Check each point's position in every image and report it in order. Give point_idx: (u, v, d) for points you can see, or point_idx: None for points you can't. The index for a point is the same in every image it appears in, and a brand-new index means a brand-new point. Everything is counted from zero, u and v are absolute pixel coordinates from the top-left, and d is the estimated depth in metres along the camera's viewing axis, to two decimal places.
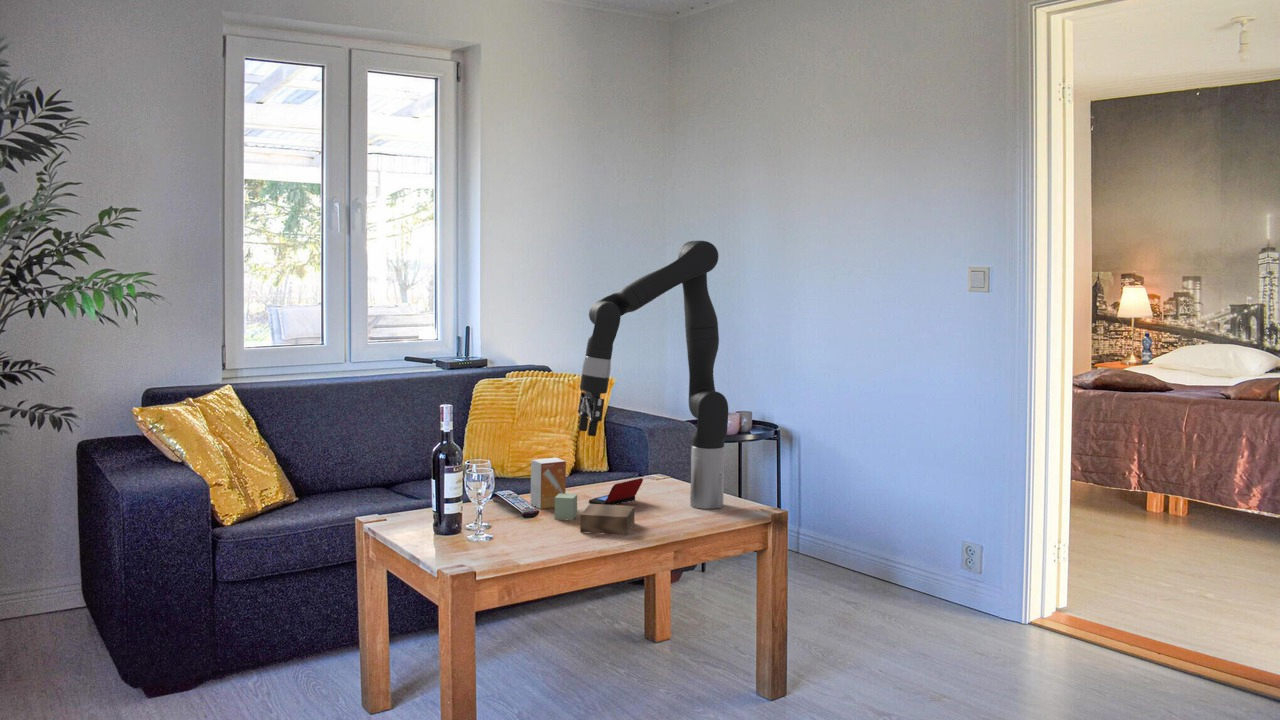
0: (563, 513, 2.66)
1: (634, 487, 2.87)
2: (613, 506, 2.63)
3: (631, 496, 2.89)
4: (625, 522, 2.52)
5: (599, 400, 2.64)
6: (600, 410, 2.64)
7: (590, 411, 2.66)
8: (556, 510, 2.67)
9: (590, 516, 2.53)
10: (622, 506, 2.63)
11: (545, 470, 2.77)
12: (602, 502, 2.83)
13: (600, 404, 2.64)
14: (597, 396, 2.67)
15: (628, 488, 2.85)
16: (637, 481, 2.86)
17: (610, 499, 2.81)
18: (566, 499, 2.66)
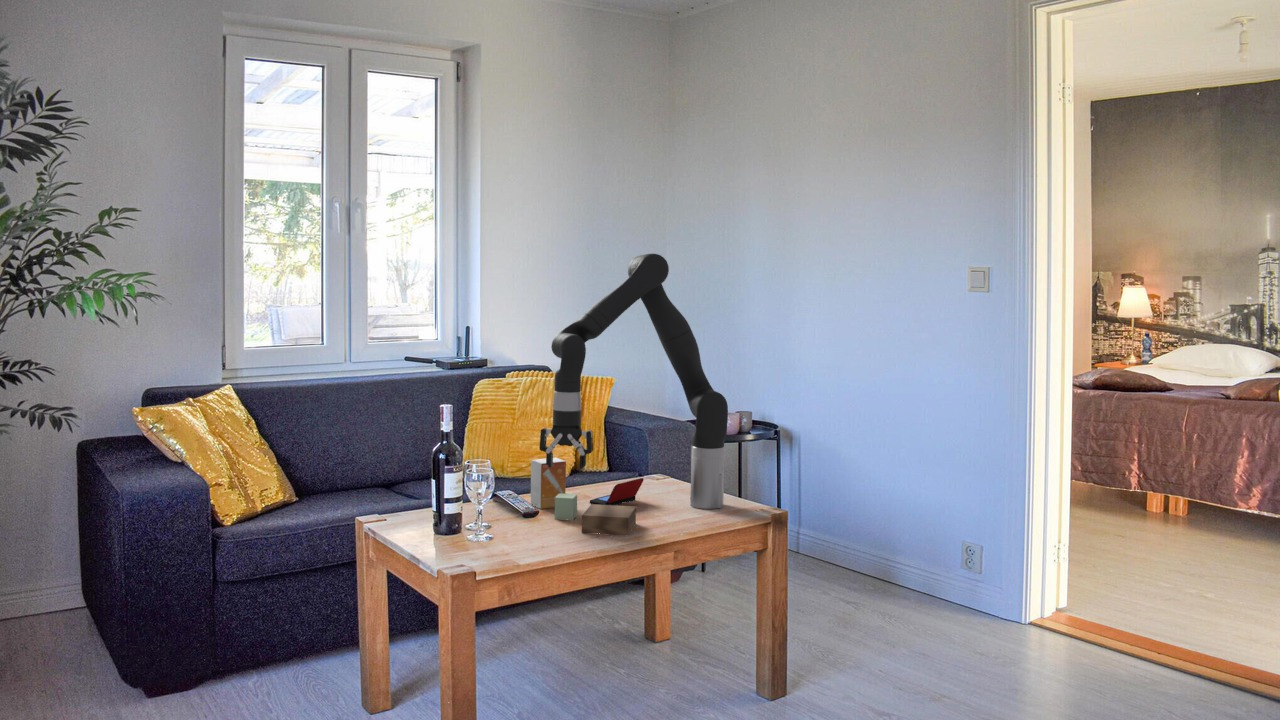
0: (563, 513, 2.66)
1: (635, 487, 2.86)
2: (614, 506, 2.62)
3: (632, 496, 2.89)
4: (626, 523, 2.51)
5: (591, 432, 2.66)
6: (592, 441, 2.67)
7: (579, 445, 2.65)
8: (556, 510, 2.67)
9: (591, 516, 2.53)
10: (623, 506, 2.62)
11: (545, 470, 2.77)
12: (603, 502, 2.83)
13: (592, 436, 2.66)
14: (580, 429, 2.66)
15: (629, 488, 2.85)
16: (638, 481, 2.86)
17: (611, 499, 2.81)
18: (566, 499, 2.66)
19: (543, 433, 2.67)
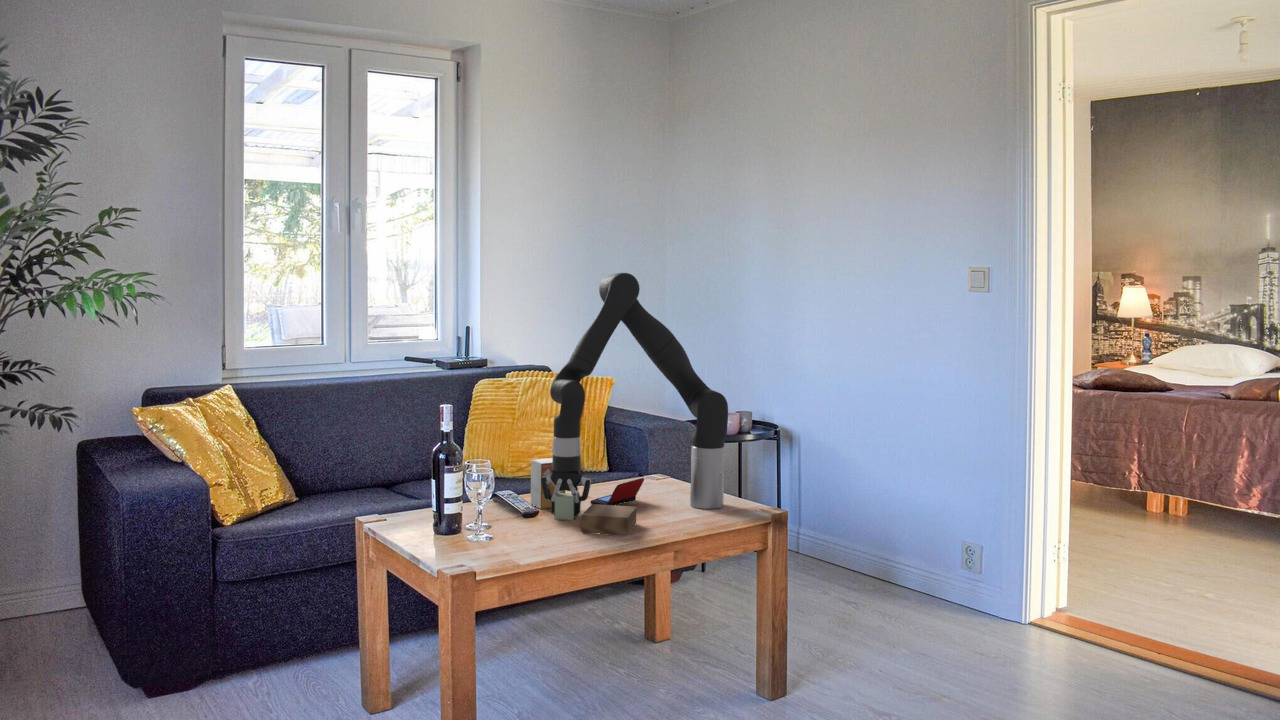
0: (563, 512, 2.66)
1: (635, 487, 2.86)
2: (615, 506, 2.62)
3: (632, 496, 2.89)
4: (626, 523, 2.51)
5: (590, 481, 2.67)
6: (588, 490, 2.68)
7: (576, 492, 2.67)
8: (556, 510, 2.67)
9: (591, 516, 2.53)
10: (624, 507, 2.62)
11: (545, 470, 2.77)
12: (604, 503, 2.83)
13: (590, 484, 2.67)
14: (580, 473, 2.67)
15: (630, 488, 2.84)
16: (639, 481, 2.86)
17: (613, 499, 2.81)
18: (566, 498, 2.66)
19: (544, 481, 2.68)
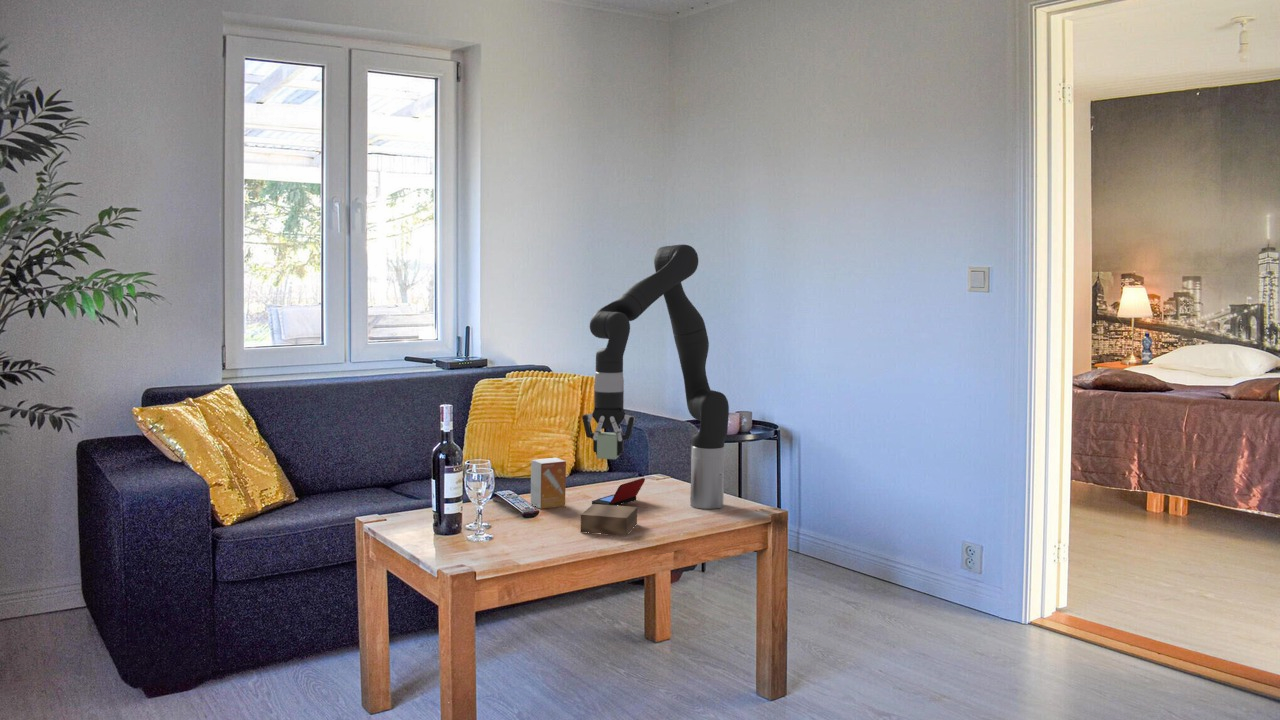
0: (605, 451, 2.55)
1: (637, 487, 2.87)
2: (615, 507, 2.62)
3: (633, 496, 2.89)
4: (625, 523, 2.51)
5: (634, 418, 2.55)
6: (632, 428, 2.56)
7: (619, 430, 2.55)
8: (598, 448, 2.55)
9: (590, 516, 2.53)
10: (624, 507, 2.62)
11: (545, 470, 2.77)
12: (606, 503, 2.82)
13: (633, 422, 2.56)
14: (623, 411, 2.56)
15: (632, 488, 2.84)
16: (640, 481, 2.86)
17: (615, 500, 2.81)
18: (609, 436, 2.54)
19: (585, 419, 2.56)
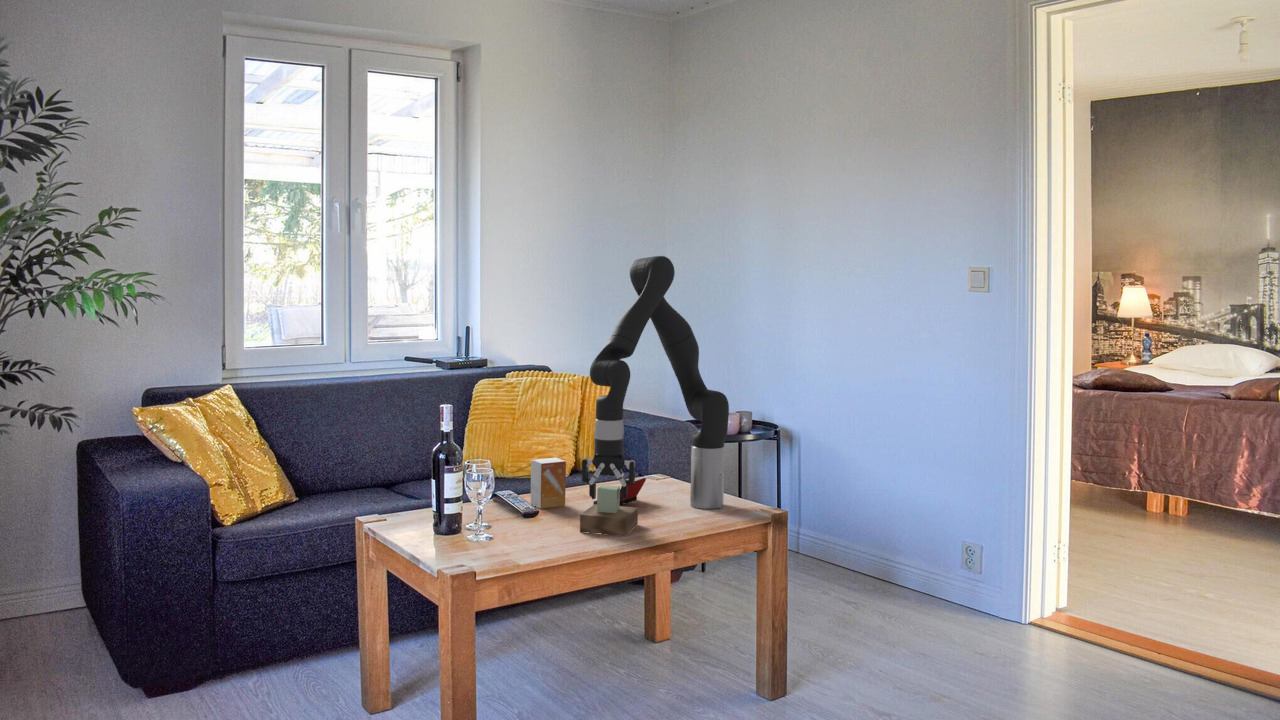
0: (606, 505, 2.56)
1: (638, 487, 2.87)
2: None
3: (634, 496, 2.89)
4: (624, 523, 2.51)
5: (634, 462, 2.56)
6: (634, 472, 2.57)
7: (621, 476, 2.56)
8: (599, 502, 2.56)
9: (589, 516, 2.53)
10: (625, 507, 2.62)
11: (545, 470, 2.77)
12: None
13: (634, 466, 2.57)
14: (623, 458, 2.57)
15: (634, 488, 2.84)
16: (641, 481, 2.86)
17: None
18: (609, 490, 2.56)
19: (584, 464, 2.57)
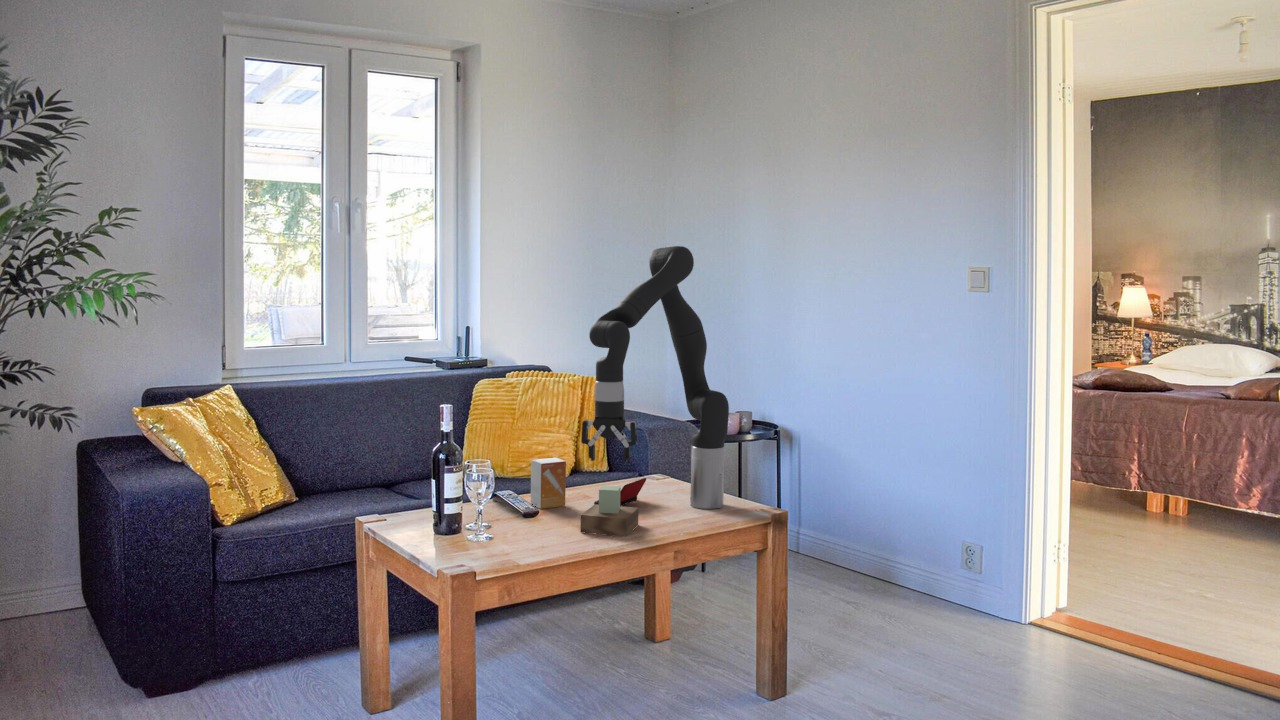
0: (607, 506, 2.56)
1: (638, 487, 2.87)
2: None
3: (634, 496, 2.89)
4: (624, 524, 2.51)
5: (635, 423, 2.55)
6: (636, 433, 2.56)
7: (623, 437, 2.55)
8: (600, 503, 2.56)
9: (590, 516, 2.53)
10: (626, 507, 2.62)
11: (544, 470, 2.77)
12: None
13: (635, 427, 2.56)
14: (623, 420, 2.56)
15: (634, 488, 2.84)
16: (642, 481, 2.86)
17: None
18: (611, 491, 2.55)
19: (585, 425, 2.56)
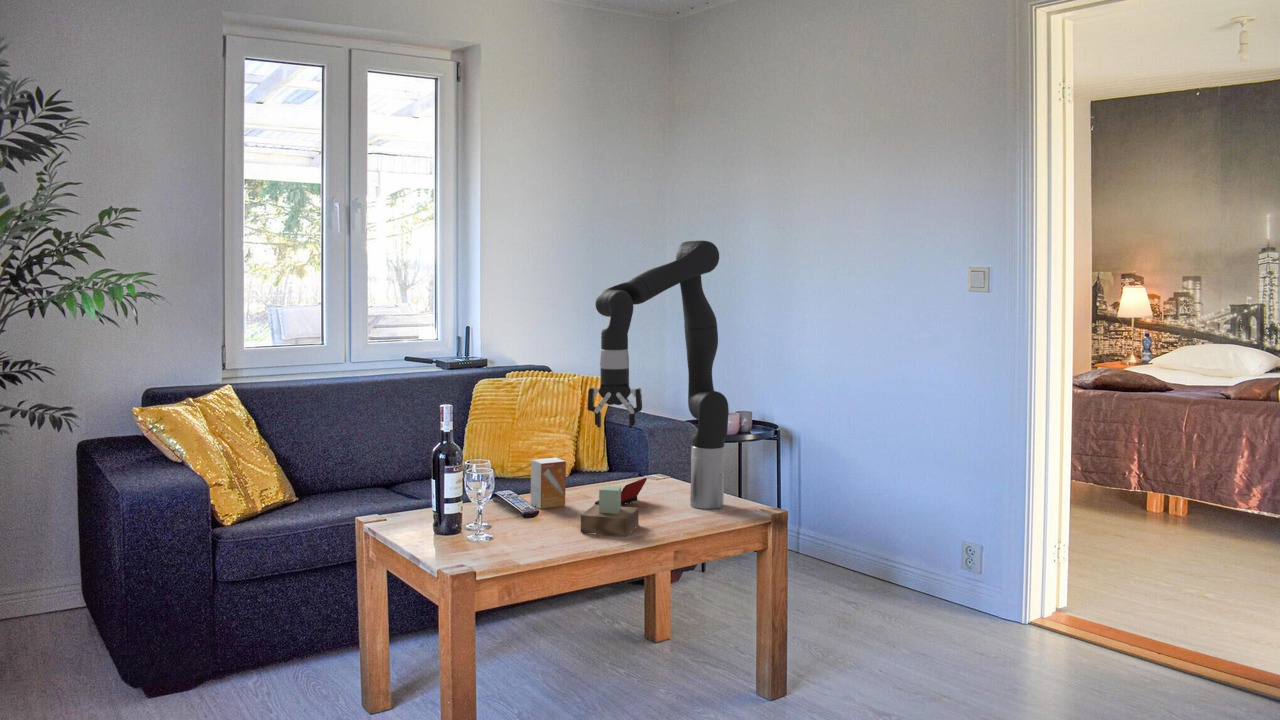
0: (607, 506, 2.56)
1: (639, 487, 2.87)
2: None
3: (634, 496, 2.89)
4: (624, 524, 2.50)
5: (640, 390, 2.62)
6: (641, 399, 2.62)
7: (628, 403, 2.61)
8: (600, 503, 2.56)
9: (590, 516, 2.53)
10: (626, 508, 2.62)
11: (545, 470, 2.77)
12: None
13: (640, 394, 2.62)
14: (629, 387, 2.62)
15: (635, 488, 2.84)
16: (642, 481, 2.86)
17: None
18: (611, 491, 2.55)
19: (591, 393, 2.62)
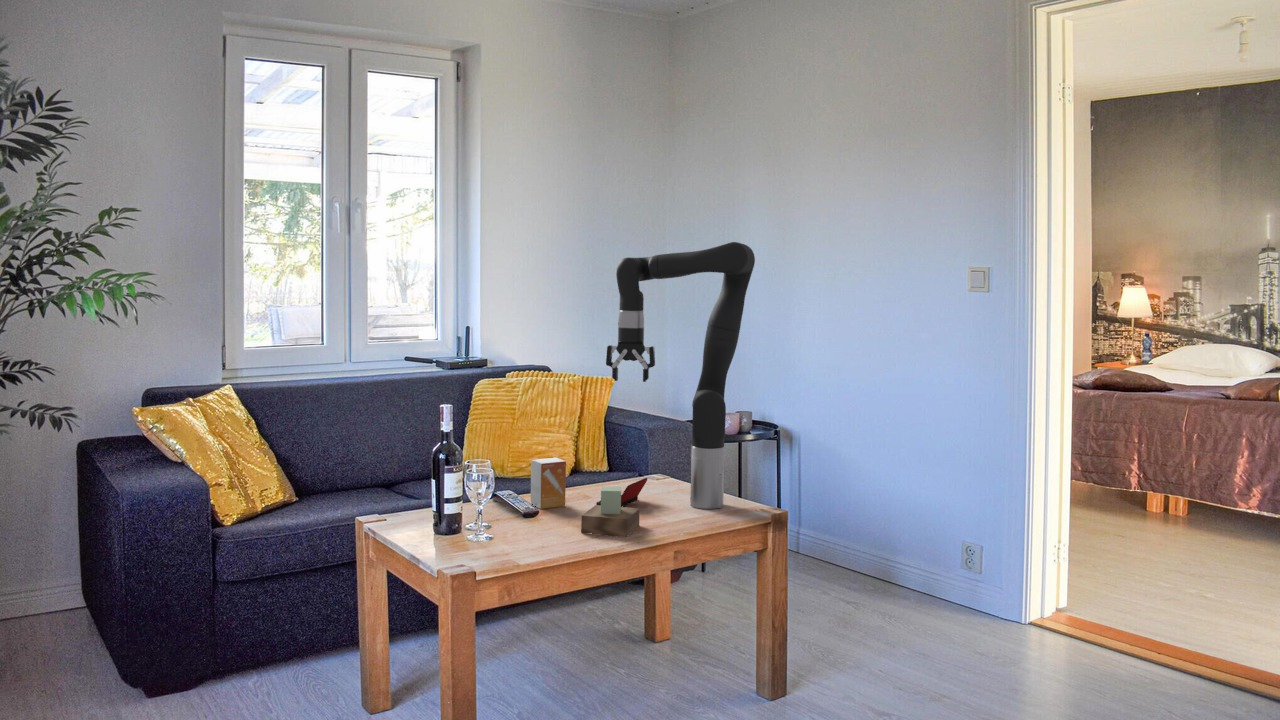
0: (609, 507, 2.55)
1: (640, 487, 2.87)
2: None
3: (635, 496, 2.89)
4: (625, 524, 2.50)
5: (653, 348, 2.91)
6: (654, 356, 2.92)
7: (643, 360, 2.91)
8: (602, 504, 2.55)
9: (591, 517, 2.52)
10: (627, 508, 2.61)
11: (545, 470, 2.77)
12: None
13: (654, 351, 2.92)
14: (643, 345, 2.92)
15: (636, 488, 2.84)
16: (643, 481, 2.86)
17: (621, 500, 2.80)
18: (613, 492, 2.54)
19: (609, 349, 2.92)
